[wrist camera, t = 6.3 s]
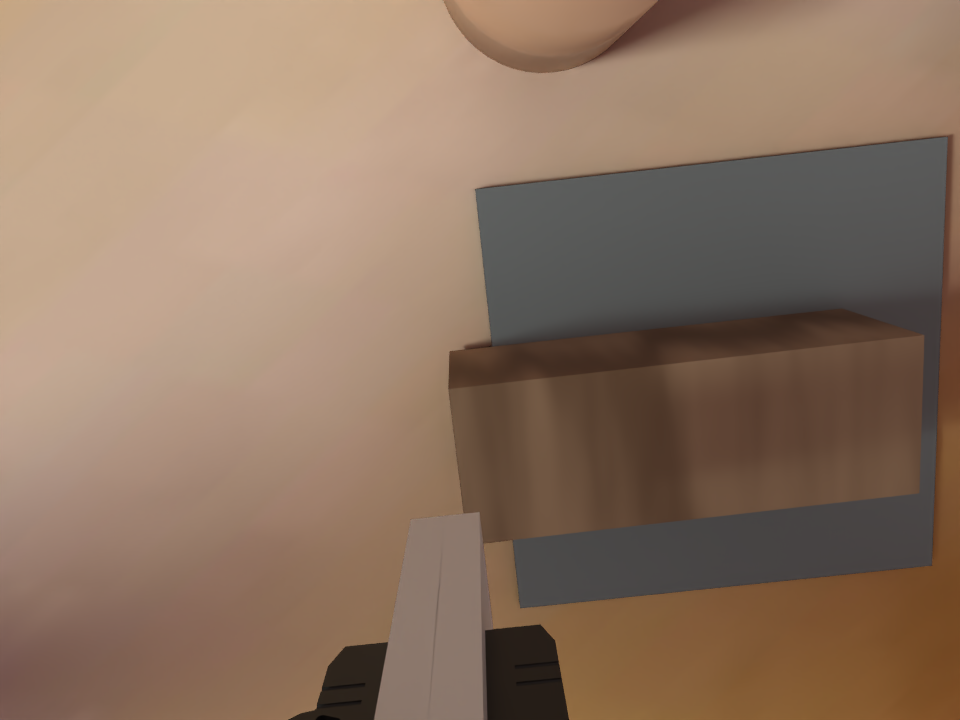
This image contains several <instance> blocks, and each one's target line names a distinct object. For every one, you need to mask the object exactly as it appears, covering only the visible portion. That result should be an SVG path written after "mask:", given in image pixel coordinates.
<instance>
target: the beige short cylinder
mask: <svg viewBox="0 0 960 720" xmlns="http://www.w3.org/2000/svg"><path fill="white" fill-rule="evenodd" d="M443 1H444V3H445V5H446V7H447V10H448V12H449V14H450V16H451V18H452V19H453V21H454V23H455V24H456V26H457V27H458V29H459V30H460V31H461V32H462V34H463V35H464V36H465V38H466V39H467V40H468V41H469V42H470V43H471V44H472V45H473V46H474V47H476V48H477V49H478V50H479V51H481V52H482V53H483V54H485V55H486V56H487V57H489V58H491V59H493V60H494V61H496V62H498V63H500V64H502V65H505V66H507V67H510V68H513V69H517V70H521V71H525V72H535V73H550V72H558V71H563V70H568V69H571V68H574V67H577V66H580V65H582V64H584V63H586V62H588V61H590V60H592V59H594V58H595V57H597V56H598V55H600V54H601V53H603V52H604V51H606V50H607V49H608V48H609V47H610V46H611V45H612V44H614V43H615V42H616V41H617V40H618V39H619V38H620V37H621V36H622V35H623V34H624V33H625V32H626V31H627V30H628V29H629V28H630V27H632V26H633V25H634V24H635V23H636V22H637V21H638V20H639V19H640V18H641V17H642V16H643V15H644V14H645V13H646V12H647V11H648V10H649V9H650V8H651V7H652V6H653V5H654V4H656V3H657V2H658V1H659V0H443Z"/></svg>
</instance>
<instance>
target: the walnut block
mask: <svg viewBox="0 0 960 720" xmlns="http://www.w3.org/2000/svg"><path fill="white" fill-rule="evenodd" d="M923 364H924V335H922V334H919V333H916V332H913V331H910V330H907V329H904V328H901V327H898V326H895V325H892V324H888V323H885V322H882V321H879V320H876V319H873V318H870V317H867V316H864V315H861V314H858V313H855V312H851V311H848V310H845V309H833V310H824V311H815V312H806V313H796V314H787V315H778V316H769V317H760V318H750V319H741V320H732V321H723V322H714V323H704V324H695V325H686V326H677V327H668V328H658V329H649V330H640V331H631V332H622V333H612V334H603V335H594V336H585V337H576V338H567V339H557V340H548V341H539V342H530V343H521V344H511V345H502V346H494V347H485V348H476V349H467V350H458V351H450V359H449V397H450V405H451V413H452V422H453V430H454V438H455V446H456V454H457V462H458V470H459V478H460V487H461V495H462V503H463V511H464V514H466V513H476V512H479V513H480V521H481V529H482V538H483V543H491V542H500V541H508V540H517V539H526V538H535V537H543V536H552V535H561V534H569V533H578V532H587V531H596V530H604V529H613V528H622V527H630V526H639V525H648V524H657V523H665V522H674V521H683V520H691V519H700V518H709V517H717V516H726V515H735V514H744V513H752V512H761V511H770V510H778V509H787V508H796V507H805V506H813V505H822V504H831V503H839V502H848V501H857V500H865V499H874V498H883V497H892V496H900V495H909V494H918V493H919V490H920V459H921V427H922V395H923Z"/></svg>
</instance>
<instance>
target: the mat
mask: <svg viewBox="0 0 960 720" xmlns="http://www.w3.org/2000/svg"><path fill="white" fill-rule="evenodd" d="M947 142H948V137H940V138H931V139H922V140H913V141H904V142H895V143H886V144H877V145H868V146H859V147H850V148H841V149H832V150H823V151H814V152H805V153H796V154H787V155H778V156H769V157H760V158H751V159H742V160H733V161H724V162H715V163H706V164H697V165H688V166H679V167H670V168H661V169H652V170H643V171H634V172H625V173H617V174H608V175H599V176H590V177H581V178H572V179H563V180H554V181H545V182H536V183H527V184H518V185H509V186H500V187H491V188H482V189H475V191H476V201H477V210H478V219H479V229H480V238H481V247H482V257H483V266H484V275H485V285H486V294H487V303H488V313H489V322H490V331H491V341H492V347H494V346H502V345H511V344H521V343H530V342H539V341H548V340H557V339H567V338H576V337H585V336H594V335H603V334H612V333H622V332H631V331H640V330H649V329H658V328H668V327H677V326H686V325H695V324H704V323H714V322H723V321H732V320H741V319H750V318H760V317H769V316H778V315H787V314H796V313H806V312H815V311H824V310H833V309H845V310H848V311H851V312H855V313H858V314H861V315H864V316H867V317H870V318H873V319H876V320H879V321H882V322H885V323H888V324H892V325H895V326H898V327H901V328H904V329H907V330H910V331H913V332H916V333H919V334H922V335H924V364H923V395H922V427H921V459H920V490H919V493H918V494H909V495H900V496H892V497H883V498H874V499H865V500H857V501H848V502H839V503H831V504H822V505H813V506H805V507H796V508H787V509H778V510H770V511H761V512H752V513H744V514H735V515H726V516H717V517H709V518H700V519H691V520H683V521H674V522H665V523H657V524H648V525H639V526H630V527H622V528H613V529H604V530H596V531H587V532H578V533H569V534H561V535H552V536H543V537H535V538H526V539H517V540H513V546H514V555H515V565H516V574H517V583H518V593H519V602H520V608H528V607H538V606H547V605H557V604H566V603H576V602H586V601H595V600H605V599H615V598H624V597H634V596H643V595H653V594H663V593H672V592H682V591H692V590H701V589H711V588H720V587H730V586H740V585H749V584H759V583H769V582H778V581H788V580H797V579H807V578H817V577H826V576H836V575H846V574H855V573H865V572H874V571H884V570H894V569H903V568H913V567H923V566H932V548H933V521H934V494H935V467H936V440H937V413H938V386H939V359H940V332H941V305H942V278H943V250H944V223H945V196H946V169H947Z"/></svg>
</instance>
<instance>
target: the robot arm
mask: <svg viewBox="0 0 960 720" xmlns="http://www.w3.org/2000/svg"><path fill="white" fill-rule="evenodd" d="M289 720H569V717H568V712H567V706H566V700H565V695H564V689H563V684H562V678H561V672H560V667H559V661H558V655H557V650H556V644H555V640H554V639H553V638H552V637H551V636H550V635H549V634H548V633H547V631H546V630H545V629H544V628H543V627H542V626H541V625H531V626H521V627H512V628H502V629H493V622H492V613H491V605H490V596H489V588H488V580H487V571H486V563H485V555H484V546H483V538H482V529H481V521H480V513H479V512H476V513H466V514H457V515H447V516H438V517H428V518H419V519H411V521H410V527H409V532H408V538H407V543H406V548H405V554H404V559H403V565H402V570H401V576H400V581H399V586H398V592H397V597H396V603H395V608H394V614H393V619H392V625H391V630H390V635H389V641H388V642H386V643H376V644H367V645H357V646H347V647H345V648H344V649H343V650H342V651H341V652H340V653H339V654H338V656H337V657H336V658H335V659H334V660H333V661H332V663H331V664H330V665H329V666H328V669H327V672H326V676H325V679H324V682H323V686H322V691H321V693H320V696H319V699H318V703H317V709H315V710H314V711H310V712H305V713H301V714H299V715H297V716H295V717H293V718H291V719H289Z"/></svg>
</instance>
